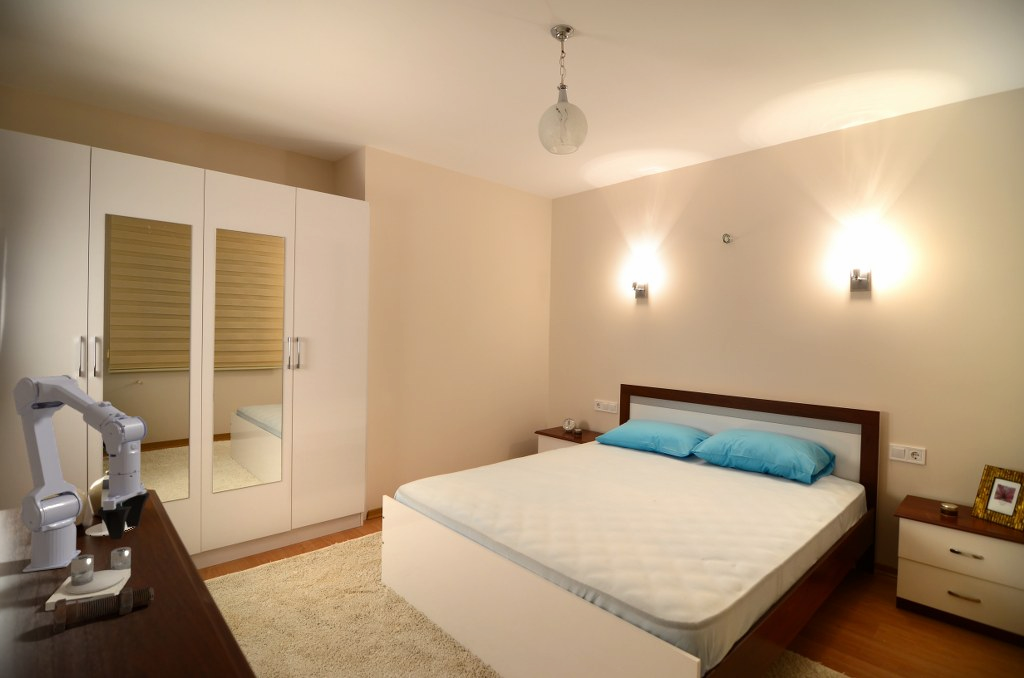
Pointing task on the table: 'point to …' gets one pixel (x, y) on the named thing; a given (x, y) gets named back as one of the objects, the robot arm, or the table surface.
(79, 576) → the spacer
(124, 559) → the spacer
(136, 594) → the bolt
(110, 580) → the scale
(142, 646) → the table surface
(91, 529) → the white phone stand
